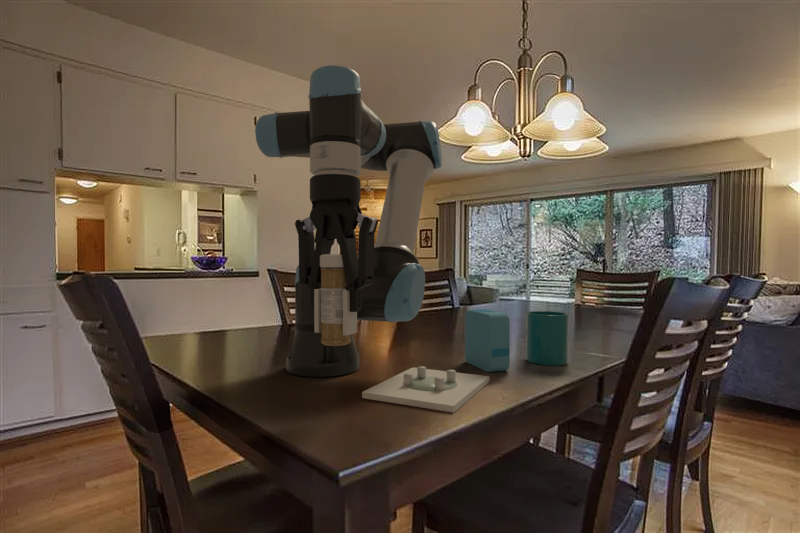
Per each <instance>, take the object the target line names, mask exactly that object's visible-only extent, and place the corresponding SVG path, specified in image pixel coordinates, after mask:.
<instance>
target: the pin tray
mask: <svg viewBox="0 0 800 533" xmlns="http://www.w3.org/2000/svg"><path fill="white" fill-rule="evenodd" d="M489 383H490V376H489V375H482V374H481V375H480V374H474V373H473V374H472V373H463V372H457V371H456V370H455V369H447V370H439V369H432V368H431V369H430V368H427V367H426V366H423V365H421V366H417V367H411V368H409V369H406V370H404V371H402V372H401V373H398V374H395V375H394V376H392V377H390V378H388V379H386V380H384V381H382V382H380V383H378V384H376V385H373V386H372V387H369V388H368V389H366V390H363V391H362V392H361V398H362V399H366V400H373V401H379V402H386V403H391V404H392V403H393V404H398V405H404V406H410V407H415V408H421V409H430V410H435V411H441V412H447V413H456V411H458V409H460V408H461V407H462V406H464V404H465V403H467V402H468V401H469V400H470V399H471V398H472V397H473V396H475V395H476V394H477V393H478V392H479V391H480V390H481V389H483V388H484V387H485V386H486V385H487V384H489Z"/></svg>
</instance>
